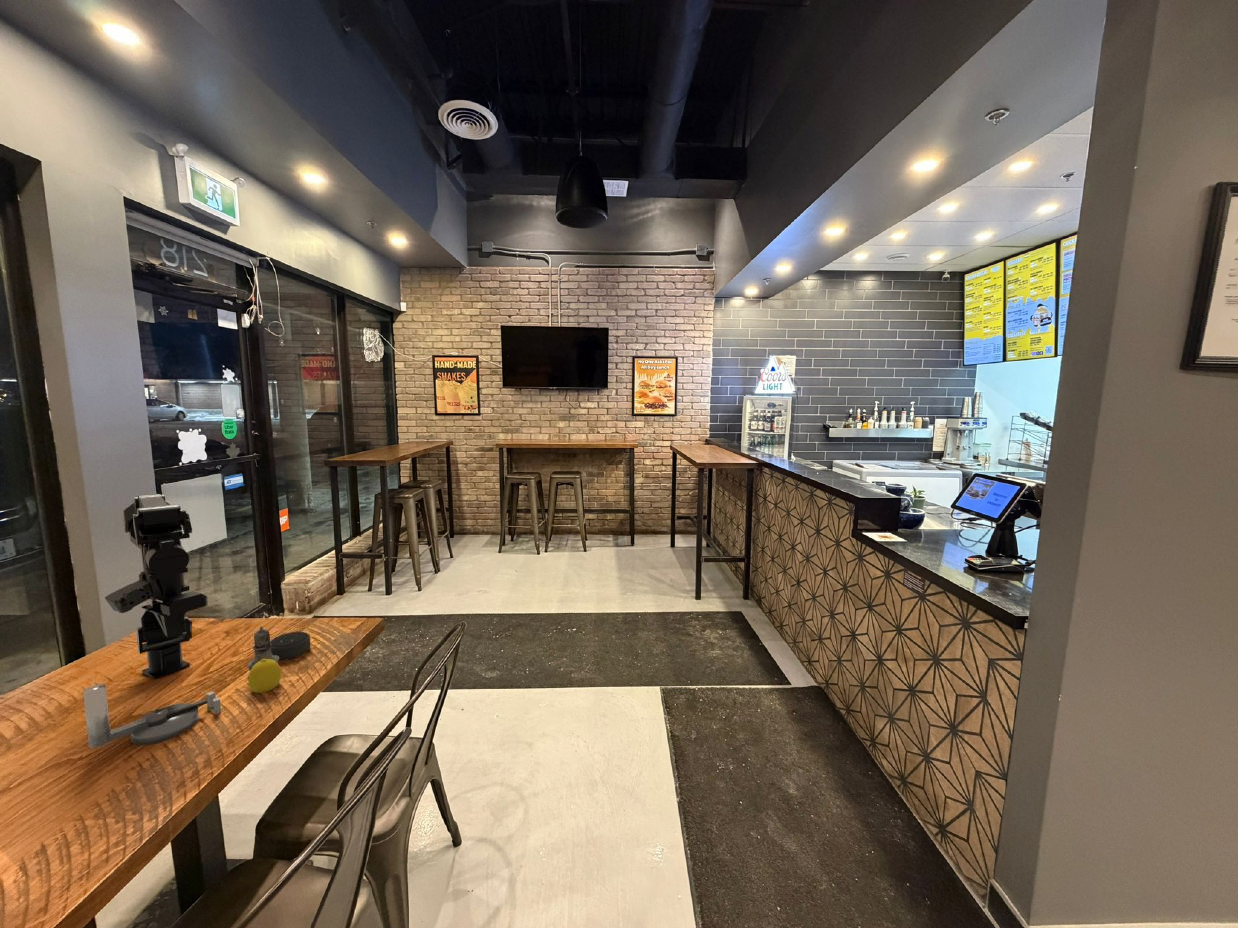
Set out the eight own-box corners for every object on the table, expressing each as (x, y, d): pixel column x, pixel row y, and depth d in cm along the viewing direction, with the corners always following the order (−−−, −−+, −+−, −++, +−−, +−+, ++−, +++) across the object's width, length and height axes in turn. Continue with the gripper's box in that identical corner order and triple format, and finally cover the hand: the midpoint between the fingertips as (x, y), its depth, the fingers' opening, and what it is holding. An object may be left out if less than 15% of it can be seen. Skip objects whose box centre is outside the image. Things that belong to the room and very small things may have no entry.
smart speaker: (261, 656, 115) (260, 640, 114) (300, 641, 122) (300, 627, 122) (277, 666, 110) (276, 650, 110) (317, 650, 117) (316, 635, 117)
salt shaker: (262, 684, 102) (259, 633, 101) (241, 681, 103) (237, 630, 102) (286, 670, 108) (283, 622, 107) (266, 667, 109) (263, 619, 108)
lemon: (261, 687, 101) (259, 652, 100) (287, 686, 101) (285, 651, 101) (243, 702, 96) (240, 666, 95) (271, 701, 96) (268, 665, 95)
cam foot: (86, 760, 77) (79, 693, 76) (127, 721, 87) (122, 662, 86) (183, 742, 81) (177, 679, 80) (212, 707, 91) (207, 650, 90)
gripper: (88, 570, 92) (95, 643, 94) (132, 584, 85) (140, 663, 86) (160, 555, 102) (166, 622, 104) (206, 566, 95) (211, 638, 96)
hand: (170, 635), depth 97 cm, fingers closed
